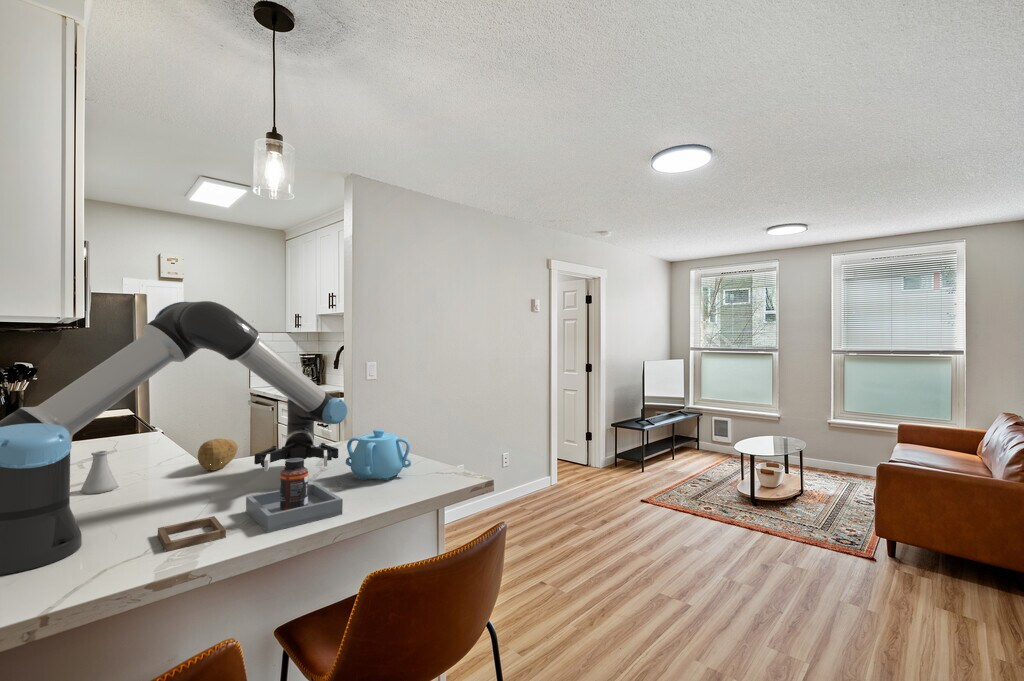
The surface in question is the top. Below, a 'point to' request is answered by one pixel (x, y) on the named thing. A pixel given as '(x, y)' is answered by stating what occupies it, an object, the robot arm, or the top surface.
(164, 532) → the rectangular wooden frame
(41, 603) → the top surface
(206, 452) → the potato
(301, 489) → the supplement bottle
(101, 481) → the flask
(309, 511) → the tray
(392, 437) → the decorative pot
